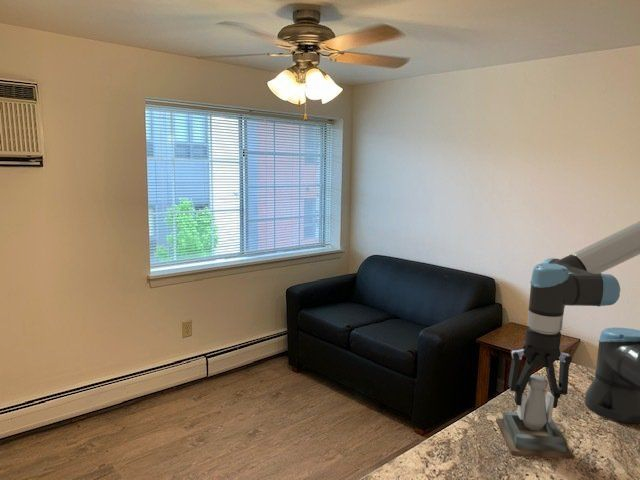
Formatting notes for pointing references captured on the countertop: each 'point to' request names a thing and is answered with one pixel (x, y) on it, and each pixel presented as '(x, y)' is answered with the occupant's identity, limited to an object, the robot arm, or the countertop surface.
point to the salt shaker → (535, 403)
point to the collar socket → (533, 438)
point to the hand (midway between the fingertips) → (533, 417)
